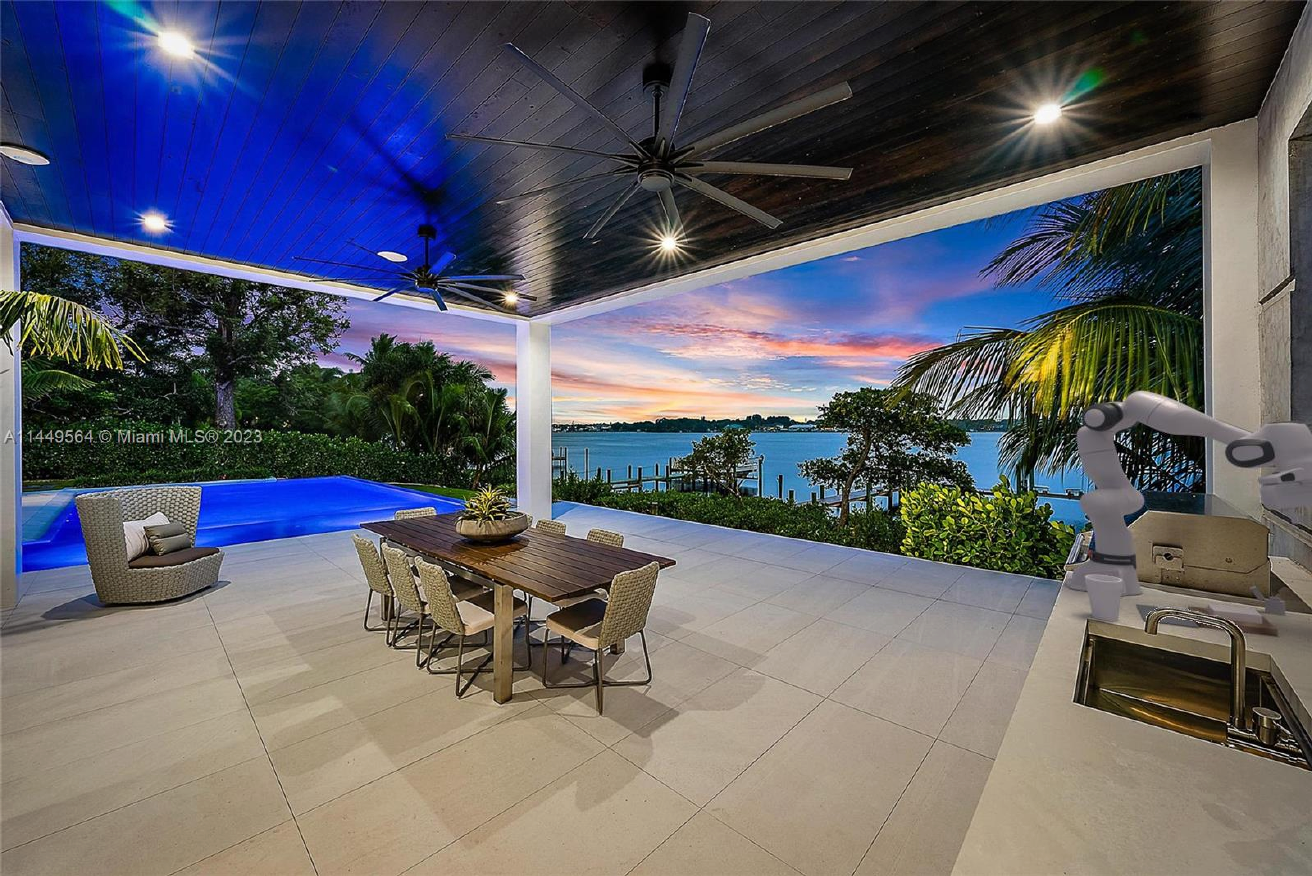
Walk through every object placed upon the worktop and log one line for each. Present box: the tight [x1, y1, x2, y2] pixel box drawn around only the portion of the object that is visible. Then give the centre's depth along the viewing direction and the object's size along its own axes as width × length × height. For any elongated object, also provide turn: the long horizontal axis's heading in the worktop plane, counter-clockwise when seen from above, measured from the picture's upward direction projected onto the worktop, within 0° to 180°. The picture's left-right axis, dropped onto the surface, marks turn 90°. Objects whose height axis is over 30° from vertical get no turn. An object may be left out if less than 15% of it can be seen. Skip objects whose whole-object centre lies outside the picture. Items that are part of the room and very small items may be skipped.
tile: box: [1207, 603, 1263, 624], centre depth 160 cm, size 10×7×2 cm
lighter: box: [1249, 585, 1286, 617], centre depth 168 cm, size 7×2×8 cm, turn 38°
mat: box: [1135, 603, 1200, 629], centre depth 169 cm, size 12×18×1 cm
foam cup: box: [1085, 575, 1123, 622], centre depth 171 cm, size 10×9×13 cm
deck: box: [1187, 605, 1279, 637], centre depth 161 cm, size 16×15×2 cm
